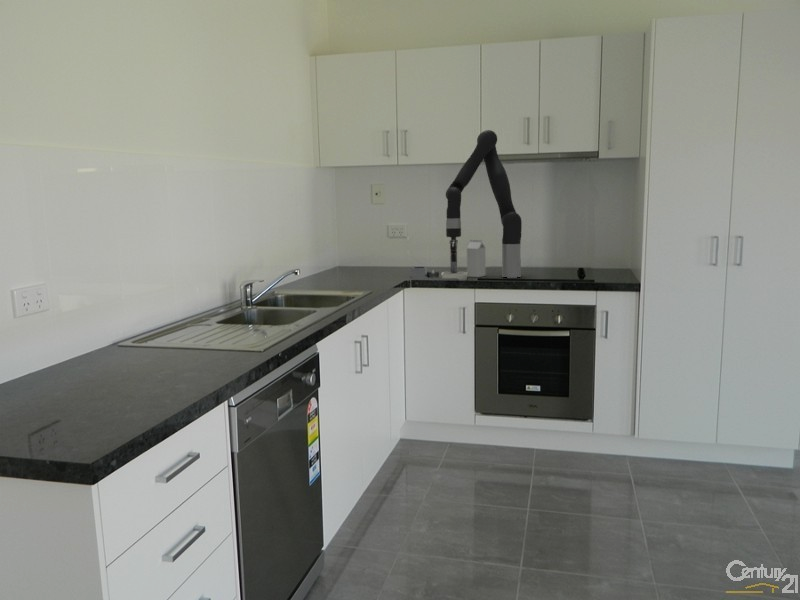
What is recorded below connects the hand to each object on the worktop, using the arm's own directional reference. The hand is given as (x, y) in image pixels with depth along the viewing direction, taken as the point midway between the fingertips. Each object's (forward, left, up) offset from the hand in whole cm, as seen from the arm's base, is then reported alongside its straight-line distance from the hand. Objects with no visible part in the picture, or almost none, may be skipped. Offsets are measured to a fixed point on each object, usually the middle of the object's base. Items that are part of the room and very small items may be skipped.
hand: (453, 261), depth 342 cm
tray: (0, 0, -9) cm, 9 cm away
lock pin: (0, 0, -6) cm, 6 cm away
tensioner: (+14, -1, -9) cm, 17 cm away
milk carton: (-11, -10, -9) cm, 18 cm away
